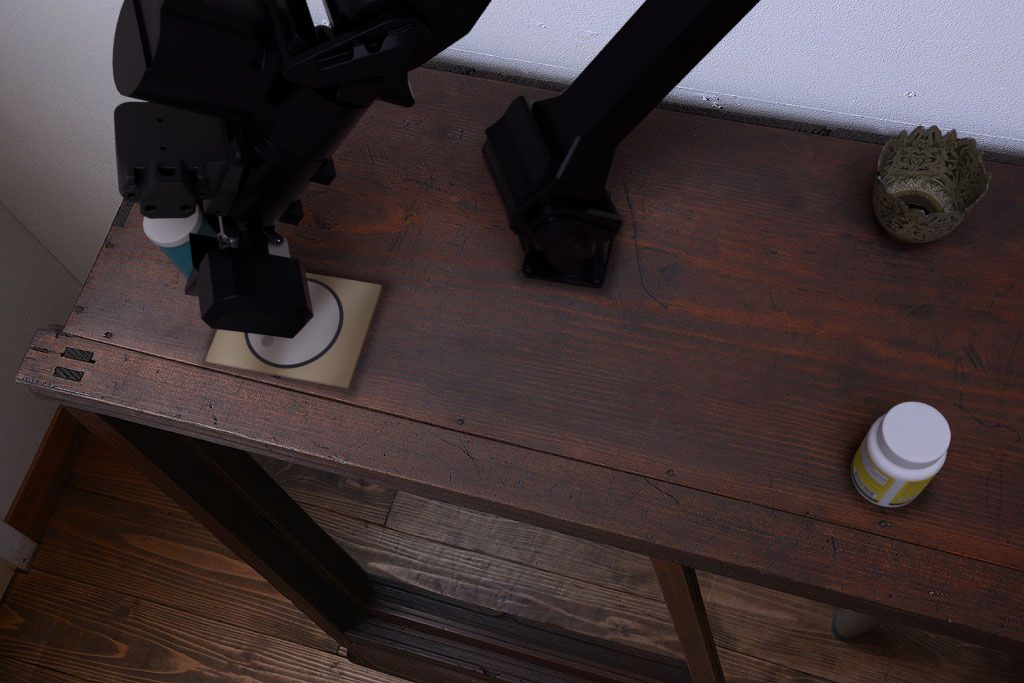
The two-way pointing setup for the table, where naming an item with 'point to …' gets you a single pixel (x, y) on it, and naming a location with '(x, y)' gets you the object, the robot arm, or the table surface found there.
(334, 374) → the sketch board
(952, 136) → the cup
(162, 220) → the paint dauber
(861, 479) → the supplement bottle
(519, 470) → the table surface
